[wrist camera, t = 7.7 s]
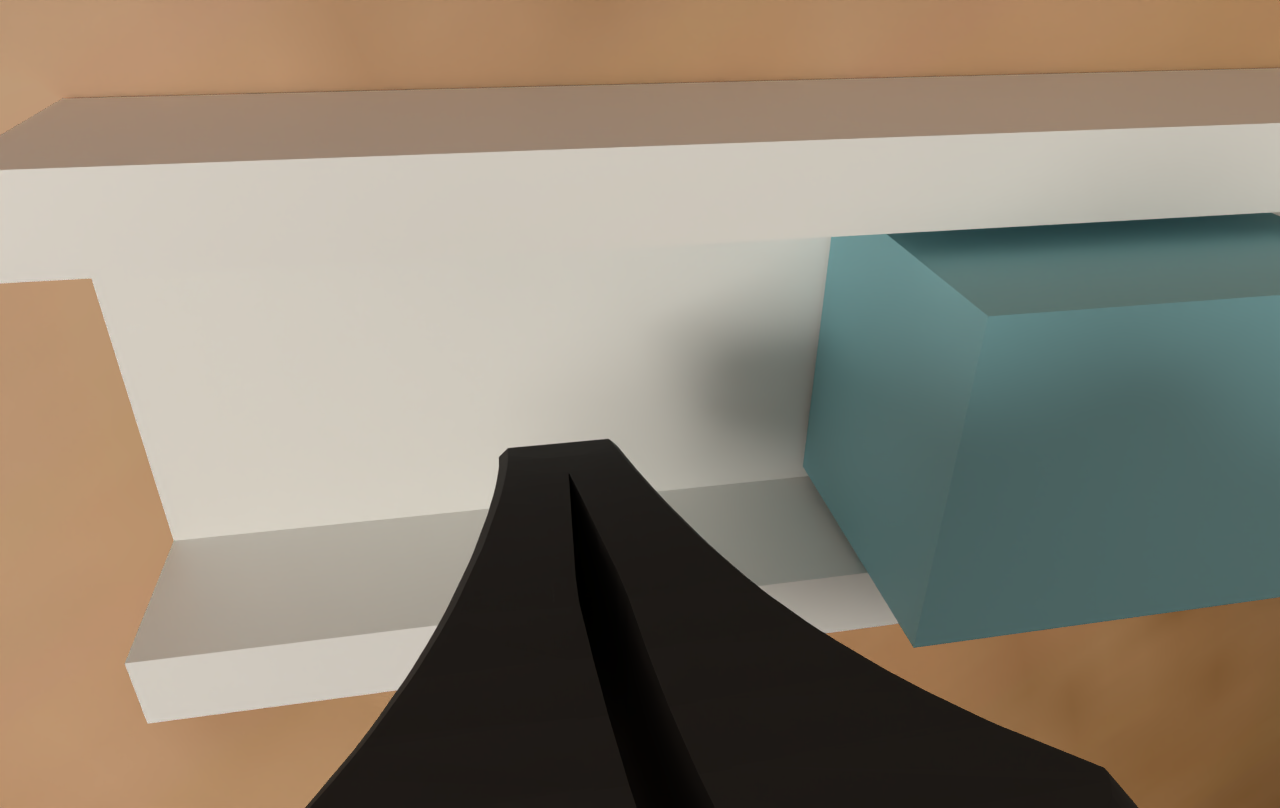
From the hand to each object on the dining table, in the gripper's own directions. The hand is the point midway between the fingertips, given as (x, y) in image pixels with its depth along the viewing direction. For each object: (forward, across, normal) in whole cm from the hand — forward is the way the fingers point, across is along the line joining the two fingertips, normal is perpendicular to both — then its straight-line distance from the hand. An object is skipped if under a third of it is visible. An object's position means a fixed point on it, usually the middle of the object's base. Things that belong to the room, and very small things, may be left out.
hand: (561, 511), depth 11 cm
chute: (+5, -4, 0) cm, 6 cm away
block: (+4, -8, 0) cm, 9 cm away
